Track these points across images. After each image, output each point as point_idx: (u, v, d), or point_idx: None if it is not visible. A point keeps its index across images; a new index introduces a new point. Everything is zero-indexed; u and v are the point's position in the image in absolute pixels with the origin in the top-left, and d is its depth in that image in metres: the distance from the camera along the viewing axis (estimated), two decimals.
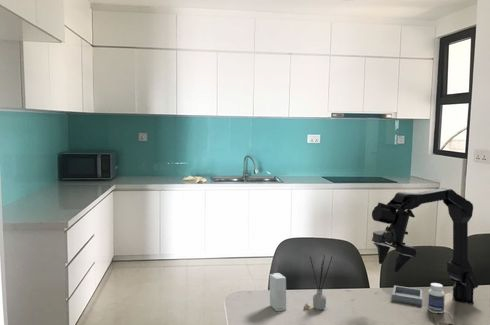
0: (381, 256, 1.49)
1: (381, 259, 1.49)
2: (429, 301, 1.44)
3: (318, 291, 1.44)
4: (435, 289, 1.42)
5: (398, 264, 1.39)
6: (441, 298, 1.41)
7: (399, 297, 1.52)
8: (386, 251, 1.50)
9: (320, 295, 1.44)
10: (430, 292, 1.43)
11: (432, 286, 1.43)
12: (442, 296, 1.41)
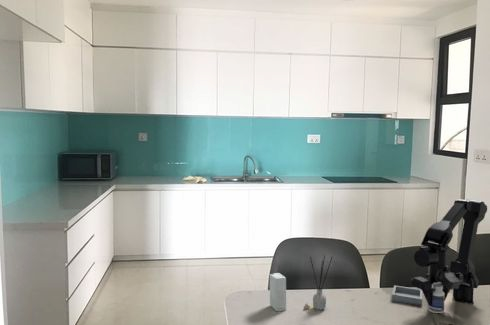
0: None
1: None
2: None
3: (318, 291, 1.44)
4: None
5: None
6: (441, 298, 1.41)
7: (399, 297, 1.52)
8: None
9: (320, 295, 1.44)
10: None
11: None
12: (442, 296, 1.41)
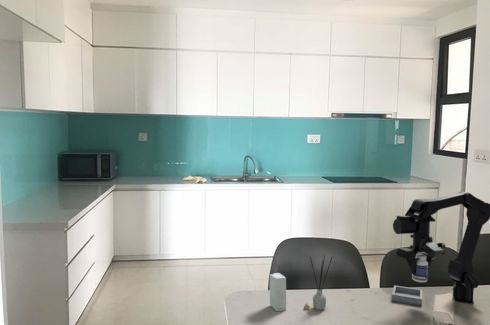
0: None
1: None
2: None
3: (318, 291, 1.44)
4: None
5: None
6: (425, 267, 1.47)
7: (399, 297, 1.52)
8: None
9: (320, 295, 1.44)
10: None
11: None
12: (426, 265, 1.47)
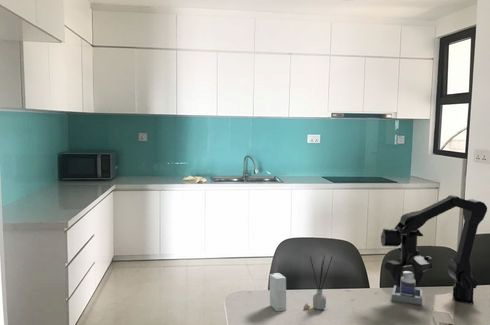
0: None
1: None
2: (401, 288, 1.55)
3: (318, 291, 1.44)
4: (407, 276, 1.53)
5: None
6: (412, 285, 1.53)
7: (399, 297, 1.52)
8: None
9: (320, 295, 1.44)
10: (402, 279, 1.55)
11: (404, 274, 1.54)
12: (413, 283, 1.53)
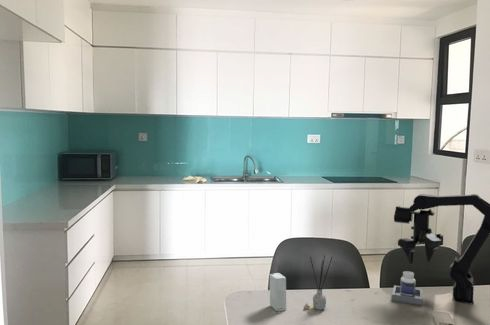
0: None
1: None
2: (401, 288, 1.55)
3: (318, 291, 1.44)
4: (407, 277, 1.53)
5: None
6: (412, 285, 1.53)
7: (399, 297, 1.52)
8: None
9: (320, 295, 1.44)
10: (402, 279, 1.55)
11: (404, 274, 1.54)
12: (413, 283, 1.53)
